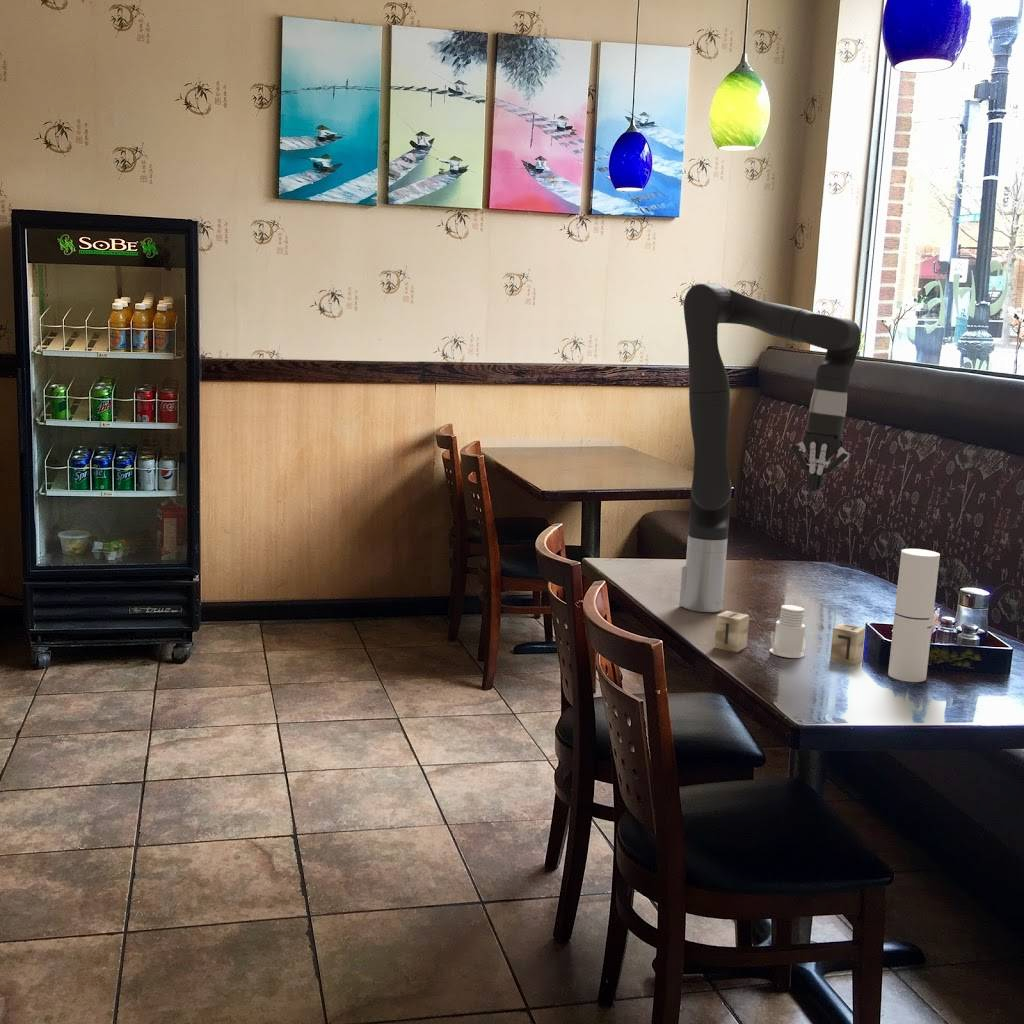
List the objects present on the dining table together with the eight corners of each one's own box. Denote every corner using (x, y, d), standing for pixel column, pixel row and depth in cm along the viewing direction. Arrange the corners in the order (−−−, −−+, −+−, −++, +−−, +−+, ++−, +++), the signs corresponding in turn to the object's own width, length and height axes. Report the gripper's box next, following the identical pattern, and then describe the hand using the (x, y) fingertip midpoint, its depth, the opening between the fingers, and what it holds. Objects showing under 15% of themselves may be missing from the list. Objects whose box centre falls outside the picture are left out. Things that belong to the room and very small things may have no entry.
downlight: (778, 659, 242) (784, 611, 240) (761, 649, 248) (767, 603, 246) (812, 659, 244) (818, 612, 242) (794, 649, 251) (800, 603, 249)
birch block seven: (829, 661, 243) (833, 627, 241) (838, 655, 247) (841, 622, 245) (853, 666, 240) (857, 632, 239) (862, 660, 244) (865, 627, 243)
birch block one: (714, 647, 248) (716, 614, 247) (724, 642, 252) (727, 610, 251) (736, 652, 245) (739, 619, 244) (746, 647, 250) (749, 614, 248)
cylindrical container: (880, 672, 236) (893, 549, 232) (909, 669, 239) (923, 548, 235) (904, 683, 230) (917, 557, 226) (933, 680, 232) (948, 555, 228)
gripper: (791, 407, 255) (779, 487, 258) (851, 416, 248) (837, 498, 250) (804, 407, 261) (792, 485, 264) (863, 416, 254) (850, 496, 256)
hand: (814, 491), depth 257 cm, fingers closed
